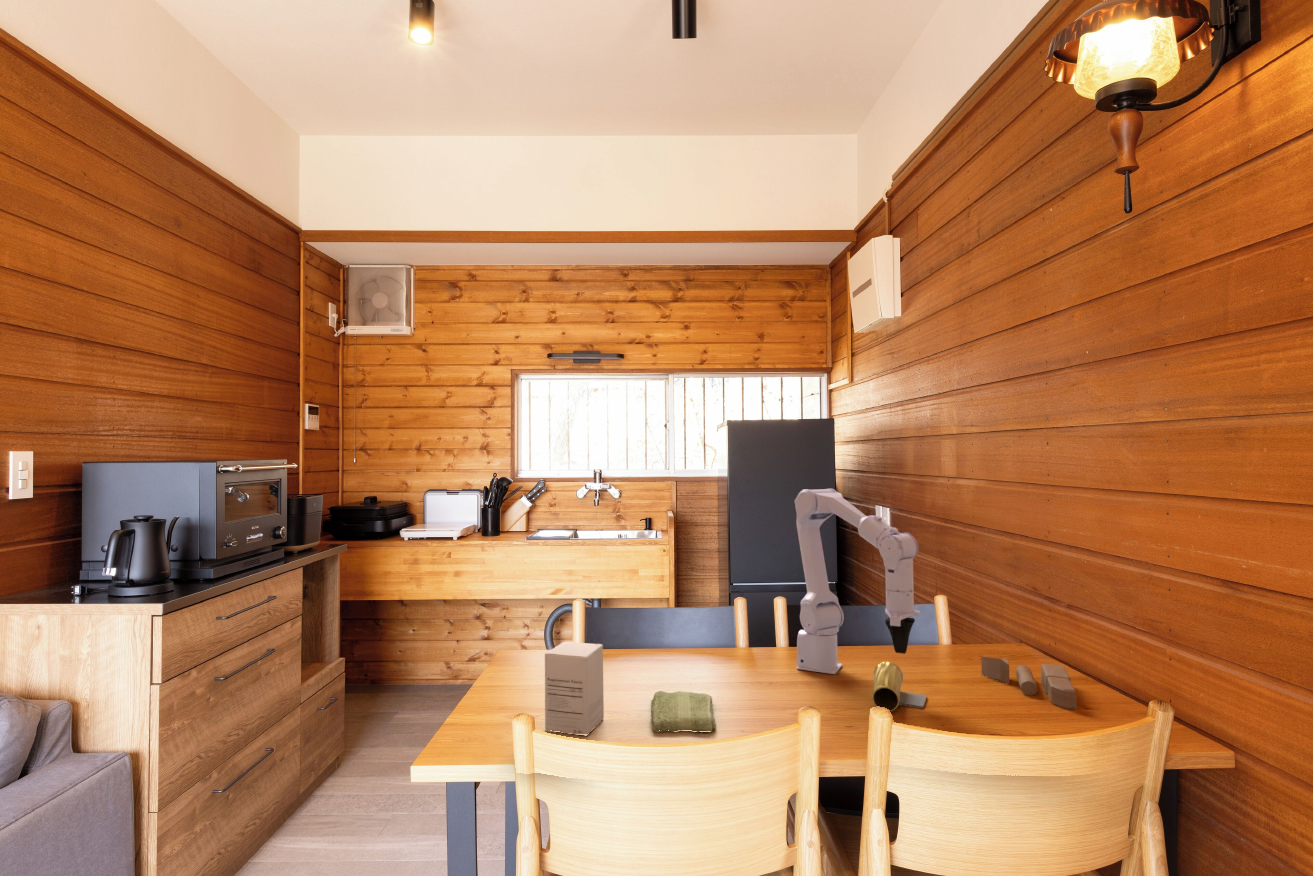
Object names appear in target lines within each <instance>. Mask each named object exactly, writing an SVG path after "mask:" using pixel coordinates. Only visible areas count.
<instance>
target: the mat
mask: <svg viewBox="0 0 1313 876" xmlns="http://www.w3.org/2000/svg"><path fill="white" fill-rule="evenodd" d="M927 699H928V696H927V695H925V694H919V693H913V692H906V691H900V702H899V705H898V706H902V705H904V707H908V706H909V708H915V707H916V709H921V708H922V710H924V707H925V705H926V701H927ZM910 706H911V707H910Z"/></svg>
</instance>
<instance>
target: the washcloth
mask: <svg viewBox="0 0 1313 876" xmlns="http://www.w3.org/2000/svg"><path fill="white" fill-rule="evenodd" d="M650 701H651V702H650V704H651V705H650V706H651V708H650V709H651V711H650V713H651V714H650V717H651V719H650V721H651V724H652V725H651V726H652V727H653V728H652V731H653V730H654V731H653V732H655V731H659V730H660V731H668V730H669V731H678V730H692V731H712V730H716V728H717V723H716V719H715V717H714V712H713V697H712V696H711V695H710V694H708V693H704V692H703V693H700V692H699V693H697V692H690V691H683V690H682V691H675V692H666V691H664V690H659V691H656V692H655V693H654V695H653V697H652V700H650Z"/></svg>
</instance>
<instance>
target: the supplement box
mask: <svg viewBox="0 0 1313 876" xmlns="http://www.w3.org/2000/svg"><path fill="white" fill-rule="evenodd" d="M604 706H605V703H604V645H603V643H602V644H601V643H587V642H586V643H585V642H576V641H562V642H561V643H559V644H558V645H556V646H555V647H553V648H552V649H550V650H548V651H547V652H545V653H544V728H545V730H544V732H546V731H547V732H546V733H554V734H557V733H556V732H554V731H560V732H563V733H564V735H566V734H565V733H572V734H588V733H589V732H590V731H591V730H592V729H593V728H594V727H595V728H596V727H597V726H599V724H600V723H601V722H602V721H603V720H604V719H605V717H604V712H605V710H604V709H605V708H604ZM603 718H604V719H603ZM601 720H602V721H601ZM596 725H597V726H596ZM550 730H552V731H550ZM560 734H562V733H560ZM562 735H563V734H562Z"/></svg>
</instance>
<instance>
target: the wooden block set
mask: <svg viewBox="0 0 1313 876" xmlns="http://www.w3.org/2000/svg"><path fill="white" fill-rule="evenodd" d="M1040 668H1041V669H1040V671H1041V674H1040V675H1041V676H1040V677H1041V679H1040V680H1041V684H1042V687H1043V689H1044V691H1045V694H1046V695H1047V696H1048V698H1049V700H1050V702H1051V704H1052V705H1053V706H1054V705H1055V706H1056V707H1060V708H1062V709H1065V710H1072V711H1075V710H1076V709H1077V691H1076V689H1075V687H1074V686H1073V685H1074V684H1073V682H1072V678H1071V677H1070V675H1069V674H1068V672H1067V669H1066V668H1065V666H1064V665H1058V664H1057V665H1056V664H1050V663H1049V664H1048V663H1042V664H1041V665H1040ZM982 675H984V676H983V677H985V676H987V677H986V678H988V679H990V678H992V679H991V680H993V679H994V680H993V681H996V680H998V681H997V682H999V681H1001V682H1000V683H1002V682H1003V684H1005V683H1007V684H1006V685H1009V684H1010V664H1009V660H1008V658H999V657H998V658H997V657H989V656H981V676H982ZM1015 675H1016V679H1017V682H1018V685H1019V687H1020V691H1021V692H1022V694H1024V695H1026V696H1030V695H1031V696H1034V695H1036V694H1037V693H1038V686H1037V683H1036V681H1035V678H1034V674H1033V673H1032V669H1031V668H1030V667H1028V666H1027V665H1024V664H1023V665H1022V664H1021V665H1019V666H1017V667H1016V669H1015Z"/></svg>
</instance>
